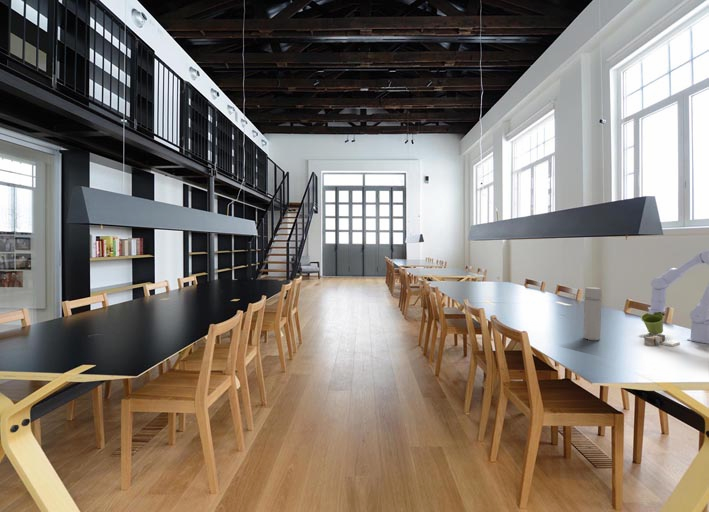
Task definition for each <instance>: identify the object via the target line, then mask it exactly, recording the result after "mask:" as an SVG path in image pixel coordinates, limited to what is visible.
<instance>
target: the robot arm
mask: <svg viewBox="0 0 709 512" xmlns="http://www.w3.org/2000/svg"><path fill="white" fill-rule="evenodd" d="M701 264H706V265H707V266H709V249H706V250H704V251H702V252H700V253H698V254H696V255H695V256H693V257H692V258H690V259H689V260H687V261H686V262H684V263H683V264H681V265H680V266H678V267H677V268H676V267H672V268H668V269H666V270H667V271H666V272H664V273H662V274H659V275H658V277H654V278H653V279H652V280H651V282H650V286H651V287H652V289H651V290H652V291H651V298H650V307H647V310H648V312H647V313H648V314H651V315H653V314H655V313H656V312H657V313H660V314H662V315H663V316H664V317H665V314H666V313H664V312H666V310H667V309H666V296H667V288H668V287H669V286H670V285H672V284H673V283H675V282H676V281H678V280H679V279H682V277H683V273H686V272H687V271H690V270H691V269H693V268H695V267H696V266H698V265H701ZM689 318H690V320H691V323H690V337H689V338H686V340H687V341H690V342H696V343H700V344H701V343H702V344H706V345H707V344H709V283H707V286H706V288H705V290H704V292H703V295H702V296H701V299H700V301H699V302H698V304H697V305H696V306H695V308H694V309H693V310H691V311H690V313H689Z"/></svg>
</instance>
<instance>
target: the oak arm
mask: <svg viewBox="0 0 709 512" xmlns="http://www.w3.org/2000/svg"><path fill="white" fill-rule="evenodd" d="M655 337H659V338H660V343H661V344H662V342H664V341H666V335H665V334H662V333H661V334H657V335H652V336H645V337H644V341H643V344H644V345H647V344H648V345H647V346H655V345H654V344H655Z"/></svg>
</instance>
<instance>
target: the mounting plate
mask: <svg viewBox="0 0 709 512" xmlns="http://www.w3.org/2000/svg"><path fill="white" fill-rule="evenodd" d="M662 344H663V346H667V345H668V347H672V346H673V347H675V345H676V346H678V345H680V344H681V342H680V341H679V340H678V341H676V340H672V339H668V340H665V341H664V342H662V343H661V345H662Z"/></svg>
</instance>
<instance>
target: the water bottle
mask: <svg viewBox="0 0 709 512" xmlns="http://www.w3.org/2000/svg"><path fill="white" fill-rule="evenodd" d="M602 293H603V292H602V288H600V287H593V286H590V287H589V286H588V287H587V286H586V287H585V291H584V296H583V297H582V298H584V302H583V303H584V305H583V339H585V340H587V339H588V341H599V340H601V329H602V328H601V327H602V324H601V323H602V321H601V320H602V299H603V297H602Z"/></svg>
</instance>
